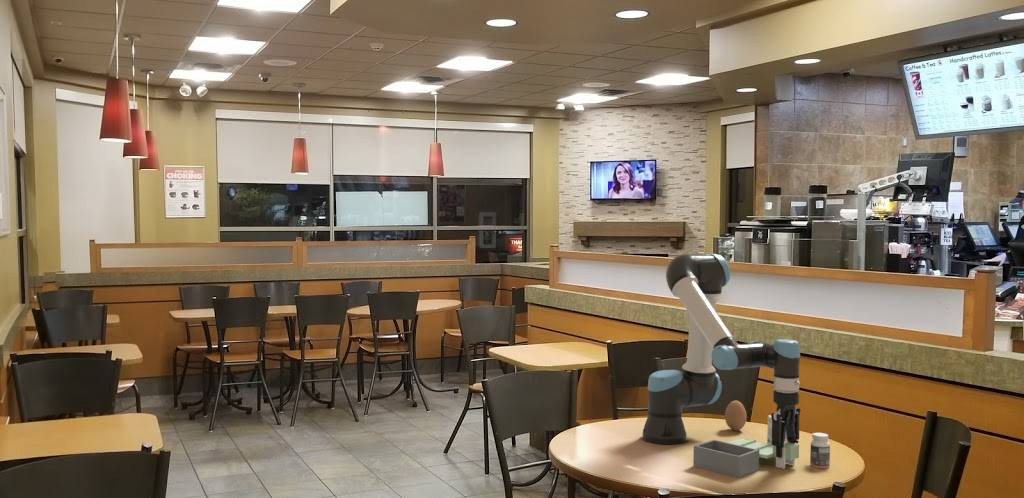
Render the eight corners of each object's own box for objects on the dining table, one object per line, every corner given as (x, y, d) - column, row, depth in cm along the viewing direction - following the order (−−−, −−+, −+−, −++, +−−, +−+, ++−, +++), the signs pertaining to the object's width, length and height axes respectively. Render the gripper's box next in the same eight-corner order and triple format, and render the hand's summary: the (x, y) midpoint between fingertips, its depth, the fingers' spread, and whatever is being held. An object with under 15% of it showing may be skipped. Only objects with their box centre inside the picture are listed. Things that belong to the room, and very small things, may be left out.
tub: (693, 468, 261) (693, 445, 261) (713, 461, 268) (714, 439, 268) (739, 480, 249) (739, 456, 249) (758, 472, 257) (759, 449, 256)
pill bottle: (807, 463, 267) (807, 432, 266) (824, 463, 267) (825, 431, 267) (815, 468, 261) (815, 437, 261) (832, 468, 262) (833, 436, 261)
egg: (742, 427, 312) (742, 398, 311) (749, 432, 304) (749, 402, 304) (722, 427, 311) (722, 398, 311) (728, 433, 304) (728, 402, 303)
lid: (720, 447, 271) (720, 435, 271) (739, 441, 279) (740, 429, 279) (784, 462, 254) (785, 449, 254) (804, 455, 262) (804, 442, 262)
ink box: (789, 457, 274) (790, 421, 273) (774, 457, 274) (775, 421, 273) (781, 450, 282) (781, 414, 282) (766, 449, 282) (767, 414, 282)
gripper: (782, 396, 251) (781, 474, 252) (812, 388, 263) (811, 462, 264) (759, 392, 256) (758, 468, 257) (789, 384, 269) (788, 457, 270)
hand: (785, 465), depth 261 cm, fingers closed on lid, 5 cm apart
